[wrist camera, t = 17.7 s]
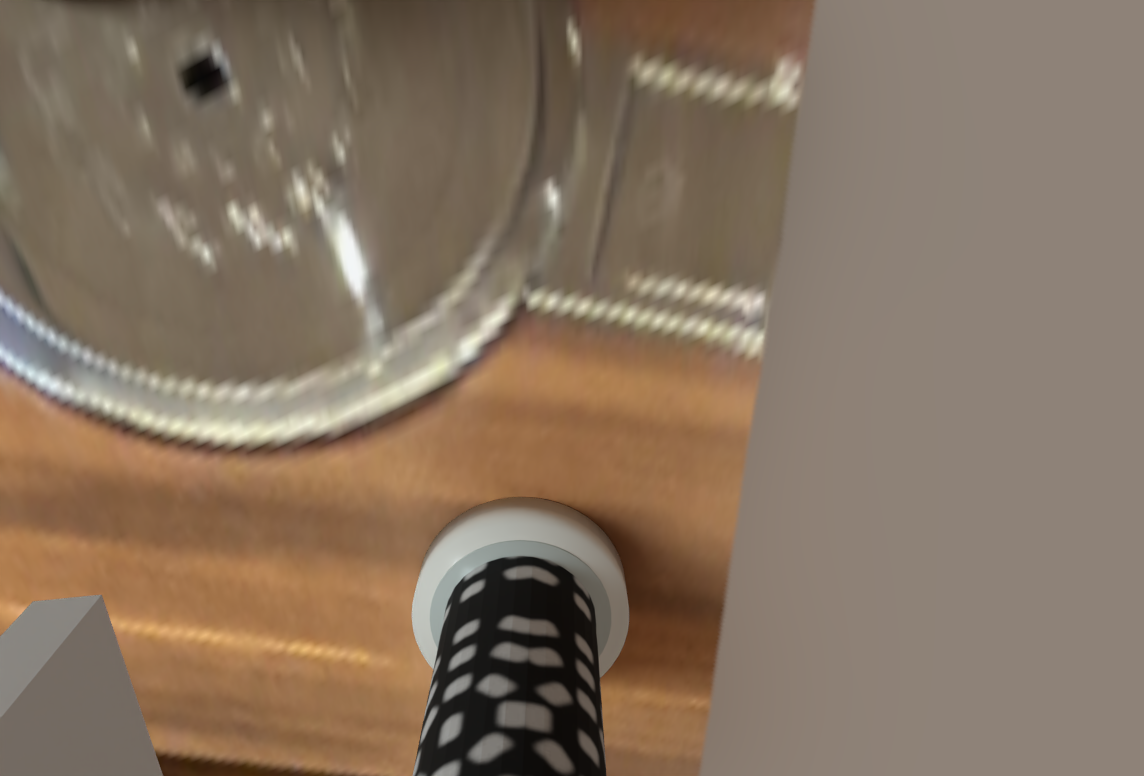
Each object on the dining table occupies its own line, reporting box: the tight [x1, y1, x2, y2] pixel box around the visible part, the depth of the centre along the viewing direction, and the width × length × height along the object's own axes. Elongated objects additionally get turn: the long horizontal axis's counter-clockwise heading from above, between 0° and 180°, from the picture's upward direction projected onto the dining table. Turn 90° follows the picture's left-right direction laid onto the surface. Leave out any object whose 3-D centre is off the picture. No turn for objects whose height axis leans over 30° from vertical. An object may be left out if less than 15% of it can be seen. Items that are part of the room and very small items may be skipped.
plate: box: [412, 497, 629, 678], centre depth 51 cm, size 12×12×3 cm
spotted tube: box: [413, 556, 606, 776], centre depth 40 cm, size 8×8×20 cm
